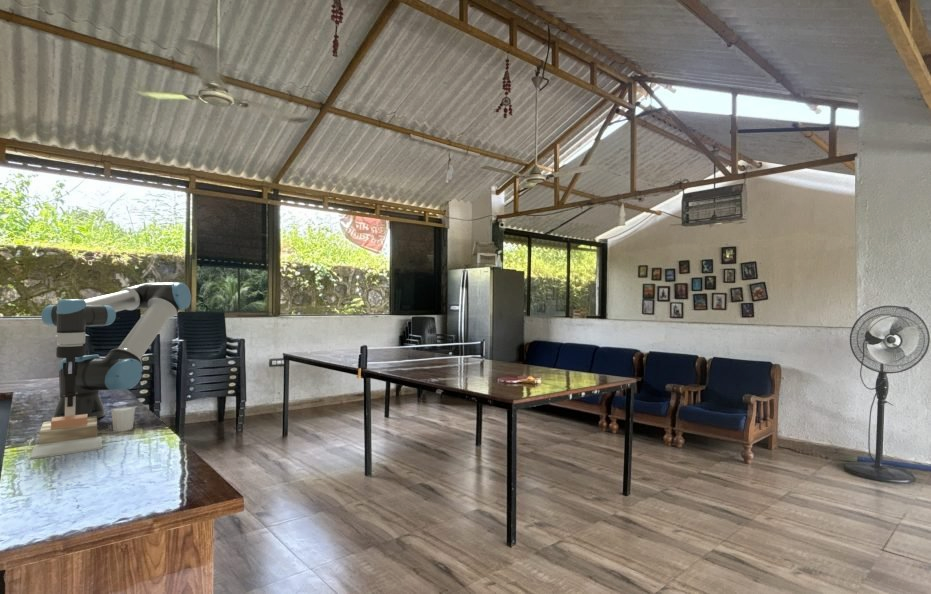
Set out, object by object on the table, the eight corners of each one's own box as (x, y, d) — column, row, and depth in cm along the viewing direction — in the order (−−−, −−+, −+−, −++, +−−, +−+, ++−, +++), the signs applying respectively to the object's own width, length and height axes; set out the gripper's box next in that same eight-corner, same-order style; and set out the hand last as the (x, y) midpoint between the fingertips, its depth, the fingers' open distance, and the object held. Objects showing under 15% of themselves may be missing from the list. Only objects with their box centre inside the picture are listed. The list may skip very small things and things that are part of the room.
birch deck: (43, 434, 162) (43, 422, 162) (96, 427, 170) (96, 416, 170) (39, 445, 149) (39, 432, 149) (97, 438, 158) (97, 425, 158)
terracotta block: (52, 424, 159) (52, 417, 159) (87, 420, 164) (87, 413, 164) (50, 428, 154) (51, 421, 154) (87, 424, 159) (87, 417, 159)
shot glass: (113, 427, 171) (113, 407, 171) (136, 425, 174) (136, 405, 174) (108, 432, 165) (108, 411, 165) (133, 430, 168) (133, 409, 168)
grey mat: (34, 447, 148) (34, 445, 148) (100, 438, 157) (100, 436, 157) (29, 459, 137) (29, 457, 137) (101, 448, 146) (101, 446, 146)
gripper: (57, 344, 168) (56, 413, 168) (55, 347, 158) (54, 421, 158) (85, 343, 173) (84, 411, 173) (84, 346, 162) (83, 418, 162)
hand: (70, 415), depth 165 cm, fingers closed
